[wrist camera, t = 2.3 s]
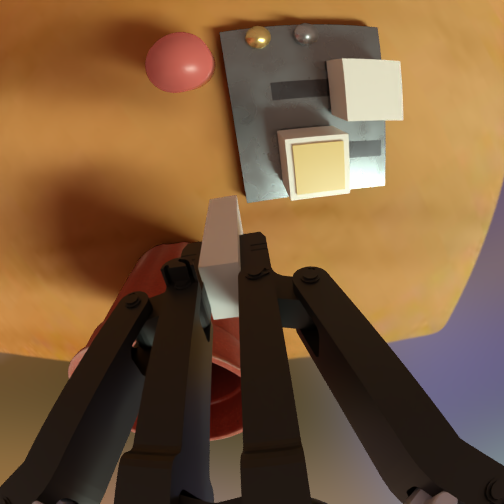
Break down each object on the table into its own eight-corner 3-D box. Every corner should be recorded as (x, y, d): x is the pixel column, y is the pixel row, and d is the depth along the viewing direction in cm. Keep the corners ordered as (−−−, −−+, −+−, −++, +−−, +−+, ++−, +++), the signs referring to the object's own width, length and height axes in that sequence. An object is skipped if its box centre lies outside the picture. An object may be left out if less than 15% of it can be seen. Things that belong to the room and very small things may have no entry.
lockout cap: (170, 94, 24) (151, 99, 18) (162, 50, 21) (140, 41, 16) (218, 84, 24) (215, 85, 18) (211, 39, 21) (205, 26, 15)
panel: (246, 197, 30) (247, 206, 28) (220, 35, 21) (219, 30, 19) (378, 180, 29) (388, 188, 28) (370, 29, 21) (381, 26, 19)
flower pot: (138, 335, 39) (115, 438, 26) (98, 231, 30) (32, 339, 17) (256, 328, 40) (268, 439, 26) (247, 214, 31) (262, 334, 17)
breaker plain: (331, 114, 24) (347, 121, 21) (326, 60, 21) (342, 58, 18) (381, 113, 24) (403, 120, 21) (378, 61, 21) (400, 61, 18)
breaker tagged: (283, 183, 27) (291, 201, 24) (276, 130, 25) (285, 140, 21) (335, 177, 27) (350, 194, 24) (332, 125, 25) (349, 134, 21)
